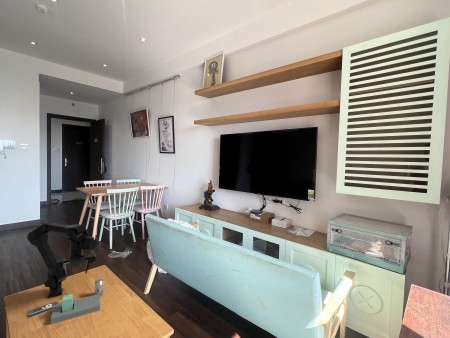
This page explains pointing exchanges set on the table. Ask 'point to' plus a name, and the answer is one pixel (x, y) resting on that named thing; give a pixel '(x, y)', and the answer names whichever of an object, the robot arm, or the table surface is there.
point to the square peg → (67, 303)
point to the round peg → (99, 287)
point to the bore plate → (76, 308)
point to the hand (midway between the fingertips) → (76, 275)
